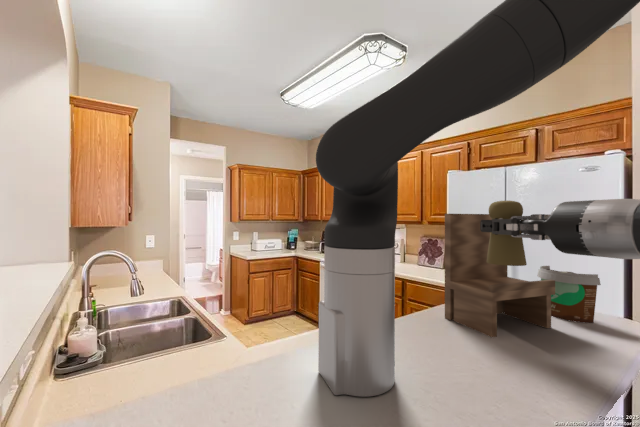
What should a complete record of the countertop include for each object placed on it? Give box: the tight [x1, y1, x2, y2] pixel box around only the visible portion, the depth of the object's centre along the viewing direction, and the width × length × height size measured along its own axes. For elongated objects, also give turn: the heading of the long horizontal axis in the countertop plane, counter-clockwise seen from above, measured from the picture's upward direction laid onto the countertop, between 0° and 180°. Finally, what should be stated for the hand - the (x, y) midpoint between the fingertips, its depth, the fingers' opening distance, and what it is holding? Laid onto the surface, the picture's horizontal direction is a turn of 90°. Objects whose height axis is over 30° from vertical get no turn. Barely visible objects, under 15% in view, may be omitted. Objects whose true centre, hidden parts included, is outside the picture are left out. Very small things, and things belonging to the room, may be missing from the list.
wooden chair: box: [444, 213, 555, 338], centre depth 61 cm, size 16×12×22 cm
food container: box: [537, 265, 601, 324], centre depth 66 cm, size 12×6×10 cm, turn 6°
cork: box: [487, 200, 528, 267], centre depth 53 cm, size 6×6×11 cm
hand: (491, 225), depth 56 cm, fingers closed on cork, 4 cm apart
